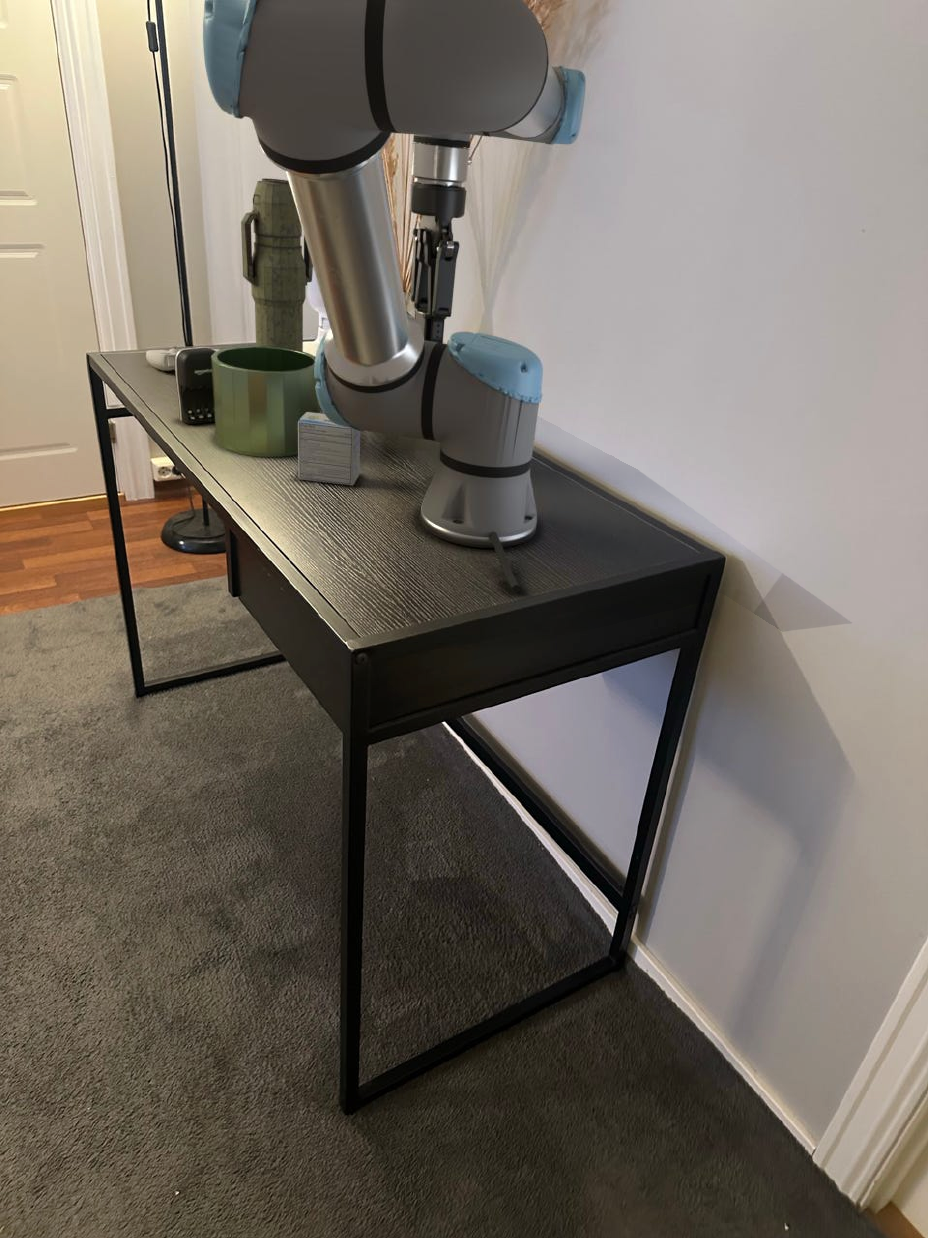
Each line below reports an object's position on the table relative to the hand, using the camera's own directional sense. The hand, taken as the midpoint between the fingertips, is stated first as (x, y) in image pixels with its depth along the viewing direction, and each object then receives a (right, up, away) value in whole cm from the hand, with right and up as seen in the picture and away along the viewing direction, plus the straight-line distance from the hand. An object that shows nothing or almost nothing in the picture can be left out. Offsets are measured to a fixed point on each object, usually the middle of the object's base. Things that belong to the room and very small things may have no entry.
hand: (426, 359), depth 123 cm
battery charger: (-37, -6, +12) cm, 39 cm away
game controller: (-48, +10, +38) cm, 62 cm away
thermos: (-27, 0, +25) cm, 37 cm away
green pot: (-25, -10, +7) cm, 28 cm away
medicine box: (-14, -18, -4) cm, 23 cm away
